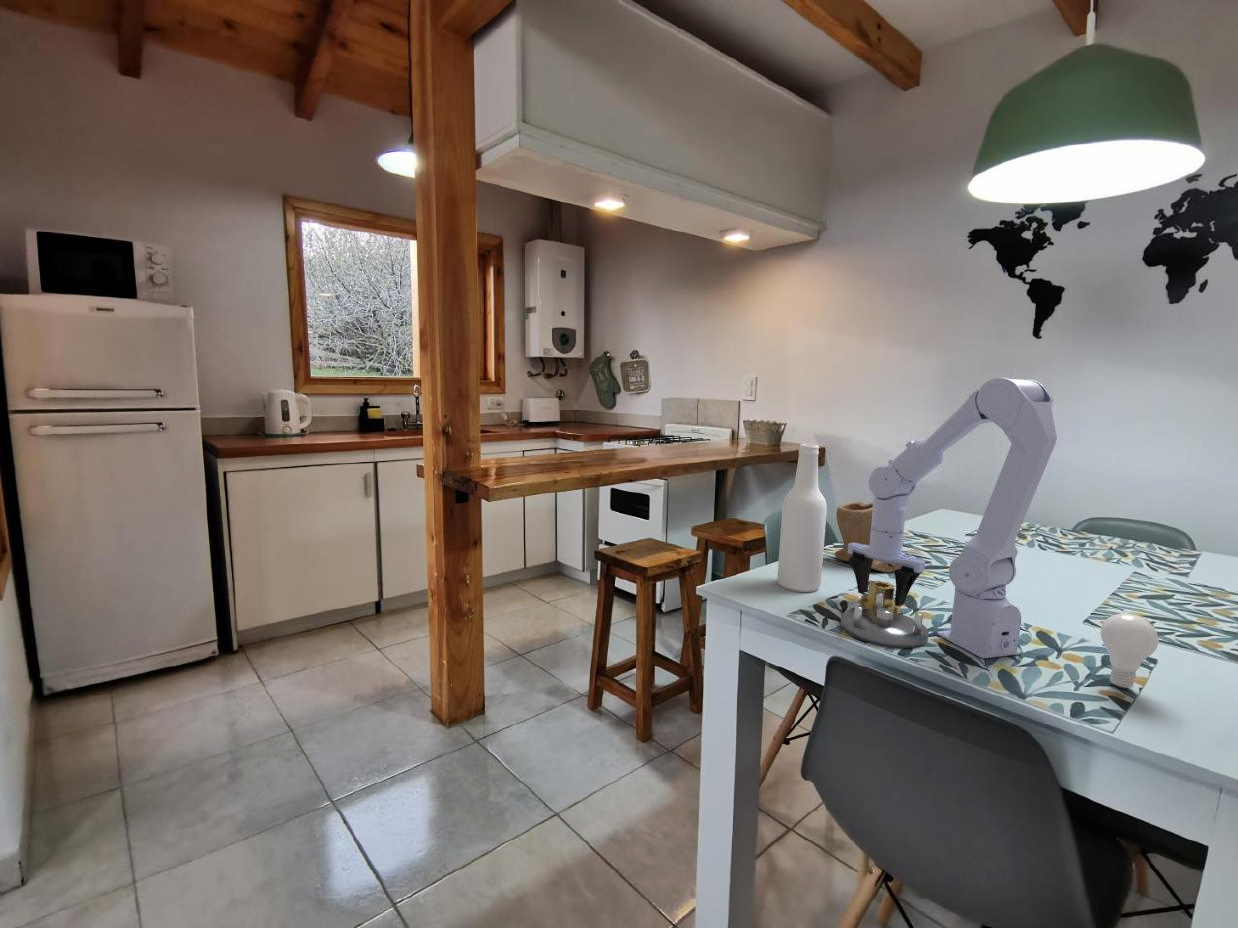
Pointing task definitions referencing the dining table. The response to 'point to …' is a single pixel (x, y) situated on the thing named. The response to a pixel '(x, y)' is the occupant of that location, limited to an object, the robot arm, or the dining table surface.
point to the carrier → (885, 626)
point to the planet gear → (882, 588)
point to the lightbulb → (1127, 646)
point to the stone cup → (858, 531)
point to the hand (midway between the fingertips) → (880, 598)
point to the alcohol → (803, 527)
